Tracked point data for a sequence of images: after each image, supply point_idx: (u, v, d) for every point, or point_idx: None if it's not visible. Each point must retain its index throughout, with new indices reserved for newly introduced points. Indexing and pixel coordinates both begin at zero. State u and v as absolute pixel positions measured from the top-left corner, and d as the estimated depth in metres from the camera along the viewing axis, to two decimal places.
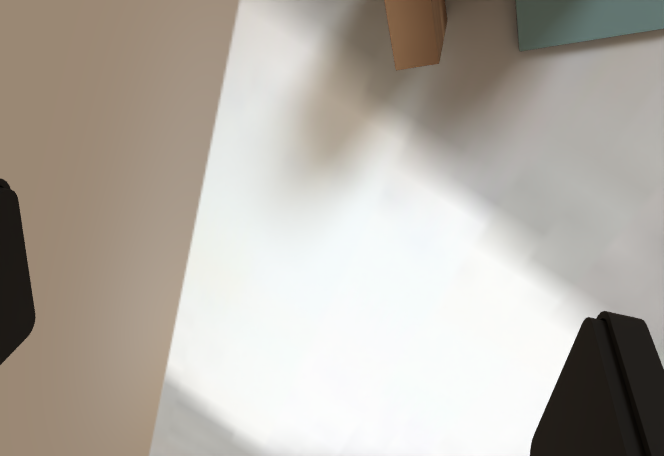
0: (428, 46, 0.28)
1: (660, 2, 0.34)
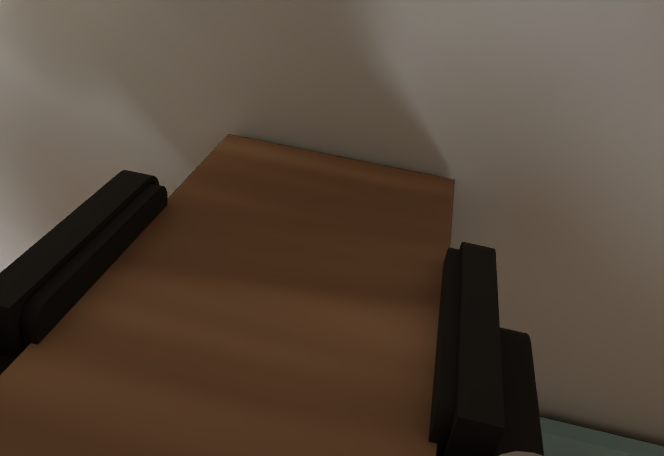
0: None
1: None
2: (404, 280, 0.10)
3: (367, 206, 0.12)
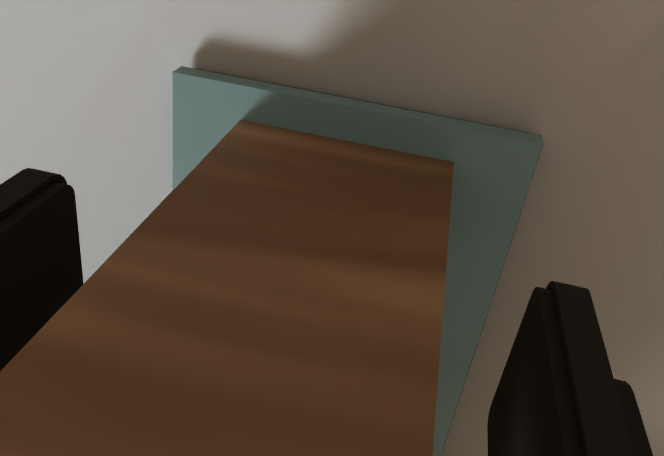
0: None
1: (210, 137, 0.15)
2: (407, 249, 0.11)
3: (372, 184, 0.12)
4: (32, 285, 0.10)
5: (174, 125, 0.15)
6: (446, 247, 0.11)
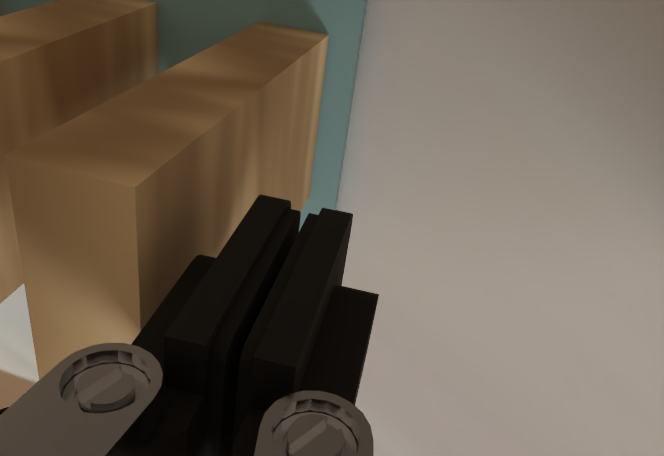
0: None
1: None
2: None
3: None
4: None
5: None
6: None
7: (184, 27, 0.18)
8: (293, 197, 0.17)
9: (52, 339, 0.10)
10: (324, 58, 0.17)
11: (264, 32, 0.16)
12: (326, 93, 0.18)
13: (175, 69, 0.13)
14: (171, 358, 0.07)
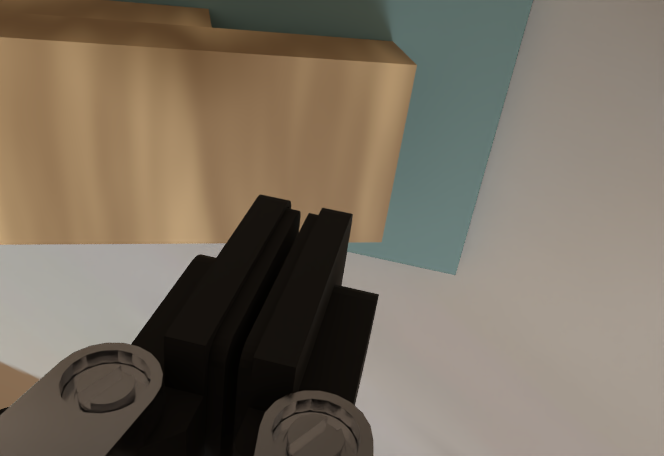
0: None
1: None
2: None
3: None
4: None
5: None
6: None
7: None
8: None
9: None
10: (402, 88, 0.15)
11: (359, 44, 0.16)
12: (472, 119, 0.17)
13: (191, 27, 0.15)
14: (171, 358, 0.07)
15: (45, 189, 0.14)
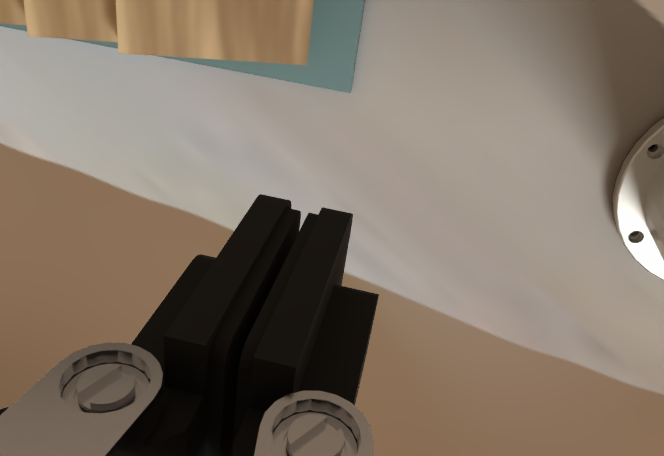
0: None
1: None
2: None
3: None
4: None
5: (7, 26, 0.39)
6: None
7: None
8: (274, 46, 0.34)
9: None
10: None
11: None
12: (350, 3, 0.34)
13: None
14: (171, 358, 0.07)
15: (147, 25, 0.32)
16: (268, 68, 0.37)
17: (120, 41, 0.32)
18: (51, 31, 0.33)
